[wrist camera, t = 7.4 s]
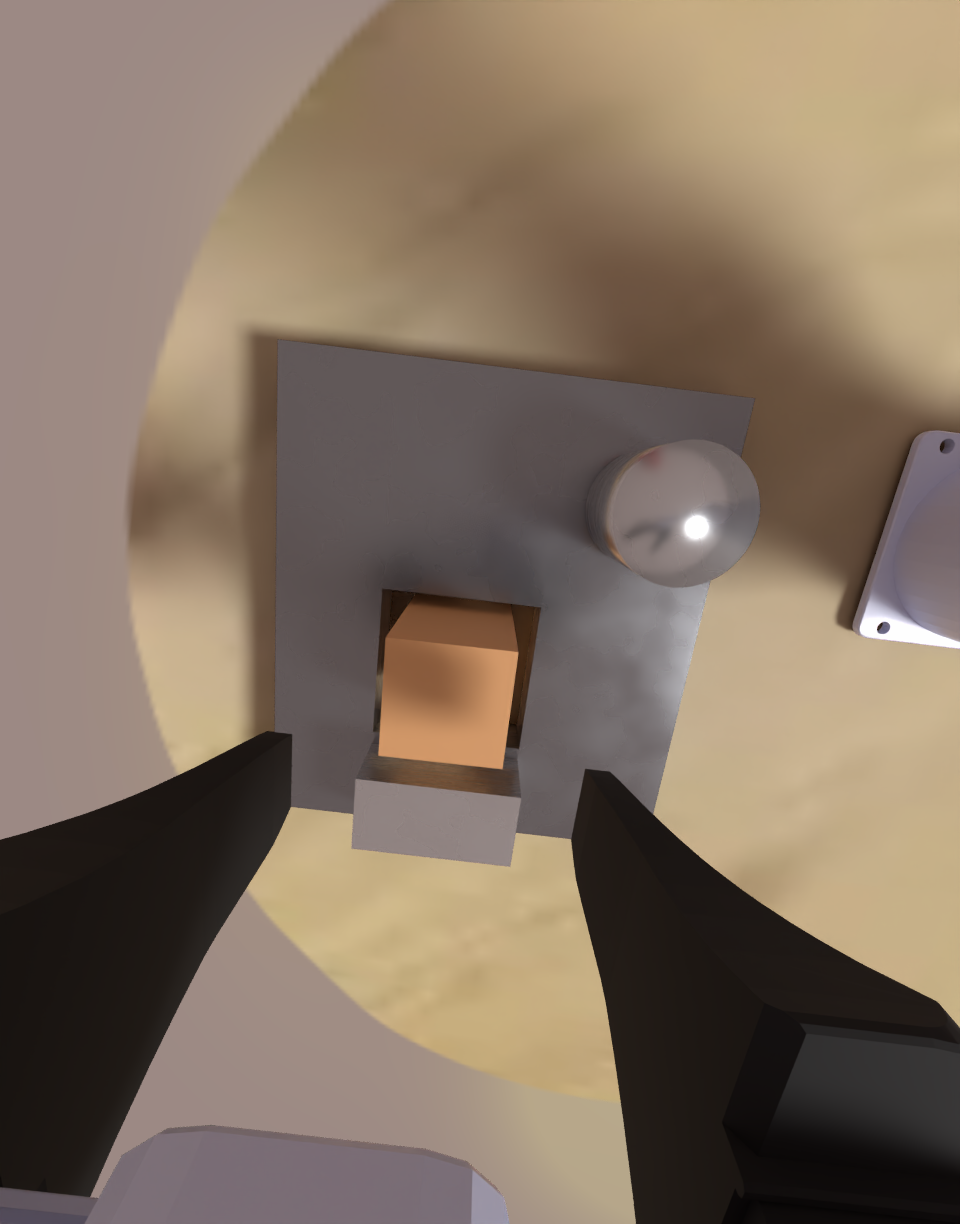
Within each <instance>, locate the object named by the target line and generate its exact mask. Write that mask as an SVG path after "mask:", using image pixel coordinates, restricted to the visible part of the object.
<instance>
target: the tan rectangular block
mask: <svg viewBox="0 0 960 1224" xmlns="http://www.w3.org/2000/svg"><path fill="white" fill-rule="evenodd" d="M518 653H519V652H518V646H517V639H516V633H515V627H514V621H513V615H512V609H511V604H505V603H496V602H487V601H478V600H469V599H460V598H451V597H442V596H433V595H424V594H415V595H414V597H413V598H412V600H411V601H410V603H409V604H408V606H407V607H406V609H405V610H404V611H403V613H402V614H401V616H400V617H399V619H398V620H397V622H396V623H395V625H394V626H393V627H392V629H391V630H390V632H389V633H388V635H387V636H386V639H385V656H384V672H383V688H382V705H381V721H380V738H379V754H378V756H386V757H395V758H404V759H413V760H422V761H432V762H441V763H450V764H459V765H468V766H478V767H487V768H496V769H503V762H504V755H505V747H506V740H507V733H508V726H509V718H510V711H511V704H512V696H513V689H514V682H515V674H516V667H517V660H518Z"/></svg>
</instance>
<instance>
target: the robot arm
mask: <svg viewBox="0 0 960 1224" xmlns="http://www.w3.org/2000/svg"><path fill="white" fill-rule="evenodd" d="M942 441H944V443H945V448H944V450H943V451H942V452H941V451H940V444H941V443H942ZM882 622H883V626H882V627H881V629H880V630H878V631H877V627H878V625H879V624H880V623H882ZM852 628H853V631H854V632H855V633H856V634H858V635H860V636H862V637H865V638H872V639H880V640H889V641H897V642H905V643H914V644H922V645H930V646H939V647H947V648H956V649H960V433H955V432H947V431H939V430H935V431H926V432H923V433H921V434H919V435H918V436H917V437H916V438H915V439H914V441H913V443H912V446H911V449H910V452H909V455H908V458H907V461H906V464H905V467H904V470H903V473H902V476H901V479H900V482H899V485H898V488H897V491H896V494H895V497H894V500H893V503H892V506H891V509H890V512H889V515H888V518H887V521H886V524H885V527H884V530H883V533H882V536H881V539H880V542H879V545H878V548H877V552H876V555H875V558H874V561H873V564H872V567H871V570H870V573H869V576H868V579H867V582H866V585H865V588H864V591H863V594H862V597H861V600H860V603H859V606H858V609H857V612H856V615H855V618H854V621H853V626H852ZM291 782H292V734H287V733H278V732H270V731H267V732H265V733H262V734H260V735H258V736H256V737H254V738H252V739H250V740H248V741H246V742H244V743H242V744H240V745H238V746H236V747H234V748H232V749H230V750H228V751H226V752H224V753H222V754H220V755H218V756H216V757H214V758H212V759H211V760H209V761H207V762H205V763H203V764H201V765H199V766H197V767H195V768H193V769H191V770H189V771H186V772H184V773H182V774H180V775H178V776H176V777H173V778H171V779H170V780H167V781H165V782H163V783H161V784H159V785H156V786H154V787H152V788H150V789H148V790H145V791H143V792H140V793H138V794H136V795H134V796H131V797H128V798H126V799H123V800H121V801H118V802H116V803H113V804H110V805H108V806H105V807H102V808H100V809H97V810H95V811H92V812H89V813H86V814H83V815H80V816H77V817H74V818H71V819H67V820H65V821H61V822H58V823H55V824H52V825H49V826H46V827H43V828H39V829H36V830H33V831H30V832H27V833H23V834H20V835H16V836H12V837H9V838H5V839H2V840H0V1224H509V1219H508V1214H507V1210H506V1204H505V1199H504V1197H503V1195H502V1194H501V1193H500V1191H499V1190H498V1189H497V1188H496V1186H495V1185H494V1184H492V1183H491V1182H490V1181H489V1180H488V1179H487V1178H485V1177H484V1176H483V1175H482V1174H481V1173H480V1172H479V1171H478V1170H476V1169H475V1168H474V1167H473V1166H472V1165H470V1163H468V1162H467V1161H464V1160H461V1159H457V1158H454V1157H451V1156H447V1155H444V1154H441V1153H437V1152H434V1151H431V1150H427V1149H423V1148H414V1147H405V1146H396V1145H387V1144H378V1143H369V1142H360V1141H351V1140H341V1139H332V1138H324V1137H314V1136H305V1135H296V1134H287V1133H279V1132H270V1131H260V1130H252V1129H243V1128H234V1127H224V1126H215V1125H205V1126H191V1127H178V1128H168V1129H166V1130H164V1131H162V1132H160V1133H158V1134H157V1135H155V1136H153V1137H151V1138H150V1139H148V1140H146V1141H145V1142H143V1143H141V1144H140V1145H138V1146H136V1147H135V1148H133V1149H132V1150H130V1151H128V1152H127V1153H125V1154H123V1155H122V1156H121V1158H120V1160H119V1162H118V1164H117V1165H116V1167H115V1169H114V1171H113V1173H112V1175H111V1176H110V1178H109V1180H108V1182H107V1184H106V1186H105V1187H104V1189H103V1191H102V1193H101V1195H100V1197H99V1198H92V1197H90V1196H91V1193H92V1191H93V1189H94V1187H95V1185H96V1182H97V1180H98V1178H99V1175H100V1173H101V1171H102V1169H103V1167H104V1164H105V1162H106V1160H107V1157H108V1155H109V1153H110V1151H111V1148H112V1146H113V1144H114V1142H115V1139H116V1137H117V1135H118V1133H119V1131H120V1129H121V1126H122V1124H123V1122H124V1120H125V1118H126V1116H127V1114H128V1111H129V1109H130V1107H131V1105H132V1103H133V1101H134V1098H135V1096H136V1094H137V1092H138V1090H139V1088H140V1085H141V1083H142V1081H143V1079H144V1077H145V1075H146V1072H147V1070H148V1068H149V1066H150V1064H151V1062H152V1060H153V1058H154V1056H155V1054H156V1052H157V1049H158V1047H159V1045H160V1044H161V1041H162V1039H163V1037H164V1035H165V1033H166V1031H167V1029H168V1027H169V1025H170V1023H171V1021H172V1019H173V1017H174V1015H175V1013H176V1011H177V1009H178V1007H179V1005H180V1003H181V1001H182V999H183V997H184V995H185V993H186V991H187V989H188V987H189V985H190V983H191V981H192V979H193V977H194V975H195V973H196V972H197V970H198V968H199V966H200V964H201V962H202V960H203V958H204V956H205V954H206V953H207V951H208V949H209V947H210V946H211V944H212V942H213V941H214V939H215V937H216V935H217V934H218V932H219V931H220V929H221V927H222V926H223V924H224V923H225V921H226V919H227V918H228V916H229V915H230V913H231V911H232V910H233V908H234V907H235V905H236V904H237V902H238V900H239V899H240V897H241V896H242V894H243V892H244V891H245V889H246V888H247V886H248V885H249V883H250V882H251V880H252V878H253V877H254V875H255V874H256V872H257V870H258V869H259V867H260V866H261V864H262V862H263V861H264V859H265V857H266V856H267V854H268V853H269V851H270V849H271V848H272V846H273V844H274V842H275V840H276V838H277V836H278V834H279V832H280V830H281V828H282V825H283V823H284V821H285V819H286V816H287V814H288V812H289V810H290V807H291ZM571 842H572V851H573V860H574V868H575V875H576V881H577V886H578V890H579V894H580V898H581V902H582V906H583V910H584V914H585V918H586V922H587V926H588V930H589V934H590V938H591V942H592V946H593V950H594V954H595V958H596V962H597V966H598V970H599V974H600V978H601V982H602V987H603V992H604V996H605V1001H606V1007H607V1013H608V1019H609V1026H610V1032H611V1038H612V1045H613V1051H614V1057H615V1064H616V1071H617V1078H618V1085H619V1092H620V1100H621V1107H622V1114H623V1121H624V1129H625V1137H626V1145H627V1152H628V1160H629V1167H630V1176H631V1184H632V1192H633V1200H634V1209H635V1218H636V1224H960V1028H959V1026H958V1025H957V1024H956V1023H955V1022H954V1021H953V1019H952V1018H951V1017H950V1016H949V1015H948V1013H947V1012H946V1011H945V1010H944V1009H943V1008H942V1006H941V1005H940V1004H939V1003H938V1002H937V1001H935V1000H933V999H931V998H929V997H927V996H925V995H923V994H921V993H919V992H917V991H915V990H913V989H911V988H909V987H907V986H905V985H903V984H901V983H899V982H897V981H895V980H893V979H891V978H889V977H887V976H885V975H883V974H881V973H879V972H877V971H875V970H873V969H871V968H869V967H867V966H865V965H863V964H861V963H859V962H857V961H855V960H854V959H852V958H850V957H848V956H847V955H845V954H843V953H841V952H840V951H838V950H836V949H834V948H832V947H831V946H829V945H827V944H825V943H824V942H822V941H820V940H818V939H817V938H815V937H813V936H812V935H810V934H808V933H807V932H805V931H803V930H802V929H800V928H798V927H797V926H795V925H794V924H792V923H790V922H789V921H787V920H786V919H784V918H783V917H781V916H780V915H778V914H777V913H775V912H774V911H772V910H771V909H769V908H768V907H766V906H764V905H763V904H761V903H760V902H758V901H757V900H756V899H754V898H753V897H751V896H750V895H748V894H747V893H746V892H744V891H743V890H741V889H740V888H739V887H737V886H736V885H735V884H733V883H732V882H731V881H730V880H728V879H727V878H726V877H724V876H723V875H722V874H720V873H719V872H718V871H716V870H715V869H714V868H713V867H711V866H710V865H709V864H708V863H706V862H705V861H704V860H703V859H701V858H700V857H699V856H698V855H697V854H696V853H695V852H693V851H692V850H691V849H690V848H689V847H688V846H687V845H685V844H684V843H683V842H682V841H681V840H680V839H679V838H677V837H676V836H675V835H674V834H673V833H672V832H671V831H670V830H669V829H668V828H667V827H666V826H665V825H664V824H662V823H661V822H660V821H659V820H658V819H657V818H656V817H655V816H654V815H653V814H652V813H651V812H650V811H649V810H648V809H647V808H646V807H645V806H644V805H643V804H642V803H641V802H640V801H639V800H638V799H637V798H636V797H635V796H634V795H633V794H632V793H631V792H630V791H629V790H628V789H627V788H626V787H625V786H624V785H623V784H622V783H621V782H620V781H619V780H618V779H617V778H616V777H615V776H614V775H613V774H612V773H611V772H610V771H601V770H593V769H585V772H584V777H583V782H582V787H581V792H580V797H579V802H578V807H577V812H576V817H575V822H574V827H573V832H572V837H571Z"/></svg>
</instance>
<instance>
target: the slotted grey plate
mask: <svg viewBox="0 0 960 1224" xmlns="http://www.w3.org/2000/svg"><path fill="white" fill-rule="evenodd" d="M754 401H755V398H748V397H740V396H732V395H724V394H716V393H708V392H700V391H691V390H683V389H675V388H667V387H659V386H651V385H643V384H635V383H627V382H619V381H611V380H602V379H594V378H586V377H578V376H570V375H562V374H554V373H546V372H538V371H530V370H522V369H514V368H505V367H497V366H489V365H481V364H473V363H465V362H457V361H449V360H441V359H433V358H425V357H417V356H408V355H400V354H392V353H384V352H376V351H368V350H360V349H352V348H344V347H336V346H328V345H319V344H311V343H303V342H295V341H287V340H279V339H278V366H277V497H276V627H275V732H278V733H287V734H292V782H291V807H298V808H306V809H315V810H324V811H332V812H341V813H350V814H353V832H352V849H361V850H369V851H378V852H387V853H395V854H404V855H413V856H422V857H430V858H439V859H448V860H457V861H465V862H474V863H483V864H492V865H500V866H509V867H510V865H511V859H512V853H513V846H514V840H515V834H516V833H523V834H532V835H541V836H549V837H558V838H567V839H571V837H572V832H573V827H574V822H575V817H576V812H577V807H578V802H579V797H580V792H581V787H582V782H583V777H584V772H585V769H593V770H601V771H610V772H611V773H612V774H613V775H614V776H615V777H616V778H617V779H618V780H619V781H620V782H621V783H622V784H623V785H624V786H625V787H626V788H627V789H628V790H629V791H630V792H631V793H632V794H633V795H634V796H635V797H636V798H637V799H638V800H639V801H640V802H641V803H642V804H643V805H644V806H645V807H646V808H647V809H648V810H649V811H650V812H651V813H652V814H653V812H654V808H655V804H656V800H657V796H658V792H659V788H660V784H661V780H662V776H663V772H664V768H665V763H666V759H667V755H668V751H669V747H670V743H671V739H672V735H673V731H674V727H675V723H676V719H677V715H678V711H679V706H680V702H681V698H682V694H683V690H684V686H685V682H686V678H687V674H688V670H689V666H690V662H691V658H692V653H693V649H694V645H695V641H696V637H697V633H698V629H699V625H700V621H701V617H702V613H703V609H704V605H705V601H706V596H707V592H708V588H709V584H710V581H711V580H713V579H715V578H717V577H718V576H720V575H722V574H723V573H725V572H726V571H727V570H729V569H730V568H731V567H732V566H733V565H734V564H735V563H736V562H737V561H738V560H739V559H740V558H741V557H742V555H743V554H744V553H745V552H746V550H747V548H748V547H749V545H750V544H751V541H752V539H753V537H754V535H755V532H756V529H757V526H758V522H759V517H760V495H759V490H758V486H757V483H756V480H755V478H754V476H753V474H752V472H751V470H750V468H749V467H748V466H747V464H746V463H745V462H744V461H743V460H742V459H741V454H742V450H743V446H744V442H745V438H746V434H747V430H748V425H749V421H750V417H751V413H752V409H753V405H754ZM392 590H399V591H408V592H416V593H424V594H433V595H441V596H450V597H458V598H466V599H475V600H483V601H491V602H500V603H508V604H517V605H525V606H533V607H535V608H534V615H533V621H532V628H531V634H530V641H529V648H528V654H527V661H526V667H525V674H524V681H523V687H522V694H521V700H520V707H519V714H518V720H517V725H511V724H509V726H508V733H507V740H506V747H505V755H504V762H503V769H496V768H487V767H478V766H468V765H459V764H450V763H441V762H432V761H422V760H413V759H404V758H395V757H386V756H378V754H379V738H380V721H381V705H382V688H383V672H384V656H385V639H386V636H387V635H388V633H389V625H390V611H391V597H392Z"/></svg>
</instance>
